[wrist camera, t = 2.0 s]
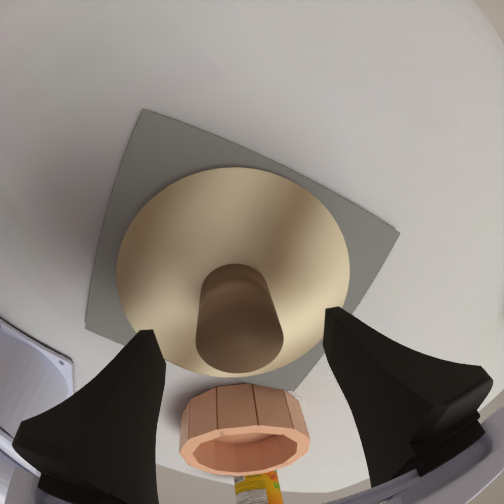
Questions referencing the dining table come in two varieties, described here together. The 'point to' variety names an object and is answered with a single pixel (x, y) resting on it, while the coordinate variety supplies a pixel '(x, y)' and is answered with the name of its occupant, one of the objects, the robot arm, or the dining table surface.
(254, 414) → the bowl
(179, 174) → the mat
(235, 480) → the supplement bottle
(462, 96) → the dining table surface
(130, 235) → the lid
